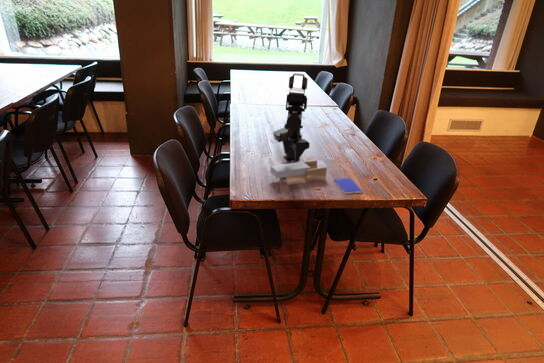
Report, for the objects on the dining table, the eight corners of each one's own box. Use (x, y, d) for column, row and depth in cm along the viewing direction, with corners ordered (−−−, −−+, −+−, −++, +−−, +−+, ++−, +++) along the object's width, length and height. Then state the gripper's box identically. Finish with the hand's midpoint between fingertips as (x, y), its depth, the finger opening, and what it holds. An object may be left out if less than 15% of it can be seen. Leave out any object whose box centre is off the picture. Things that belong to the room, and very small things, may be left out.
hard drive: (333, 178, 163) (345, 191, 152) (350, 177, 165) (362, 190, 154) (333, 182, 164) (344, 194, 153) (350, 181, 166) (362, 193, 155)
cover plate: (270, 172, 159) (270, 166, 158) (302, 167, 166) (302, 161, 164) (276, 178, 154) (277, 171, 153) (309, 173, 161) (310, 167, 159)
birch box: (278, 176, 164) (279, 164, 161) (315, 171, 171) (316, 160, 169) (287, 185, 157) (288, 172, 154) (325, 179, 164) (327, 167, 162)
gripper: (267, 117, 154) (265, 151, 161) (287, 130, 139) (284, 168, 146) (290, 115, 159) (287, 149, 166) (312, 128, 144) (308, 164, 151)
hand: (291, 157), depth 157 cm, fingers open, 9 cm apart
